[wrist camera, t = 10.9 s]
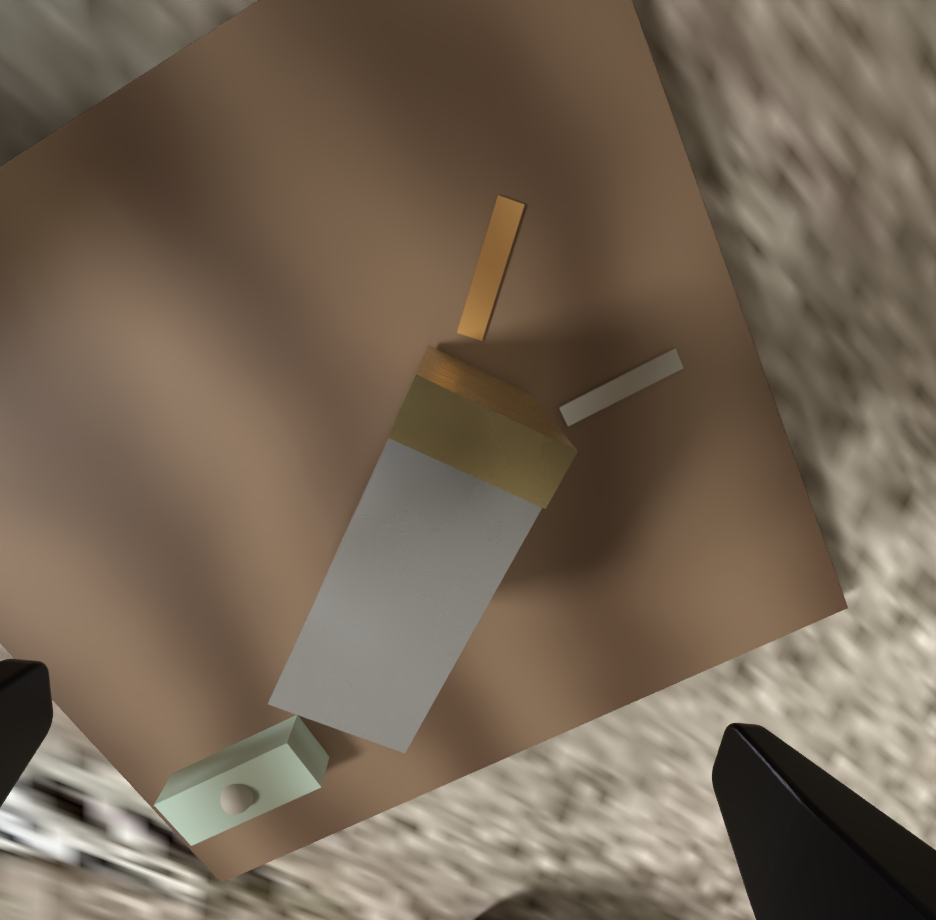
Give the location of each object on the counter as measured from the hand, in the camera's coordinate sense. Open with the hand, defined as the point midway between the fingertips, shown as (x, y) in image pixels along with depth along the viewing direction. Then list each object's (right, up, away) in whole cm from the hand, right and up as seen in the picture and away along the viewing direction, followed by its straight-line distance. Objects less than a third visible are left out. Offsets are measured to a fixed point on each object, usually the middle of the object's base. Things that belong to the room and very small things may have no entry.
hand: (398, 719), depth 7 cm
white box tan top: (0, +3, +8) cm, 9 cm away
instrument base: (-3, +3, +9) cm, 10 cm away
